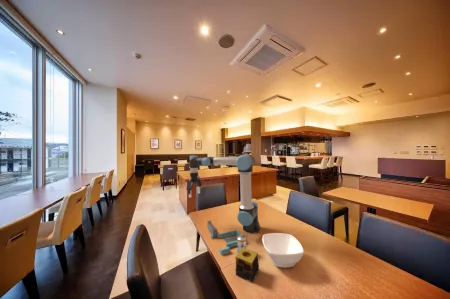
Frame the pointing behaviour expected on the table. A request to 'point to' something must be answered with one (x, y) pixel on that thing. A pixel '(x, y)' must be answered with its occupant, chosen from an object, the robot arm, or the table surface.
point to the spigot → (241, 242)
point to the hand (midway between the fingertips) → (194, 195)
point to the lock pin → (211, 228)
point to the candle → (247, 264)
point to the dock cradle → (228, 240)
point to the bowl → (283, 249)
